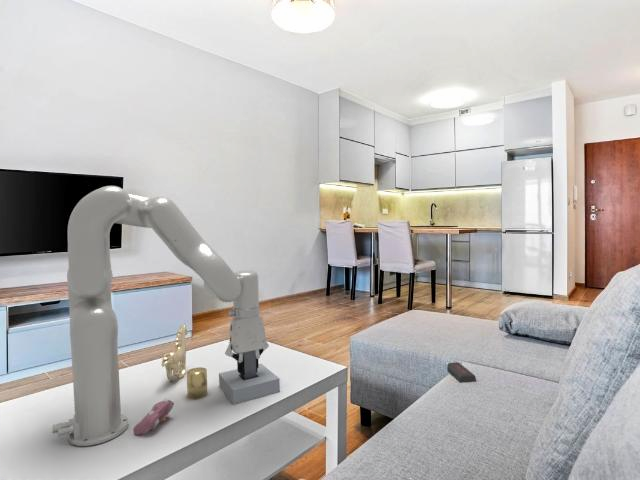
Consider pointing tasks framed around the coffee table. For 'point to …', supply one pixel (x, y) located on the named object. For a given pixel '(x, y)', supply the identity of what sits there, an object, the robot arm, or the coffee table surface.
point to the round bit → (197, 383)
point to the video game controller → (154, 417)
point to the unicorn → (176, 355)
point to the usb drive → (460, 372)
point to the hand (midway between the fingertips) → (248, 371)
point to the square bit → (249, 365)
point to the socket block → (248, 384)
